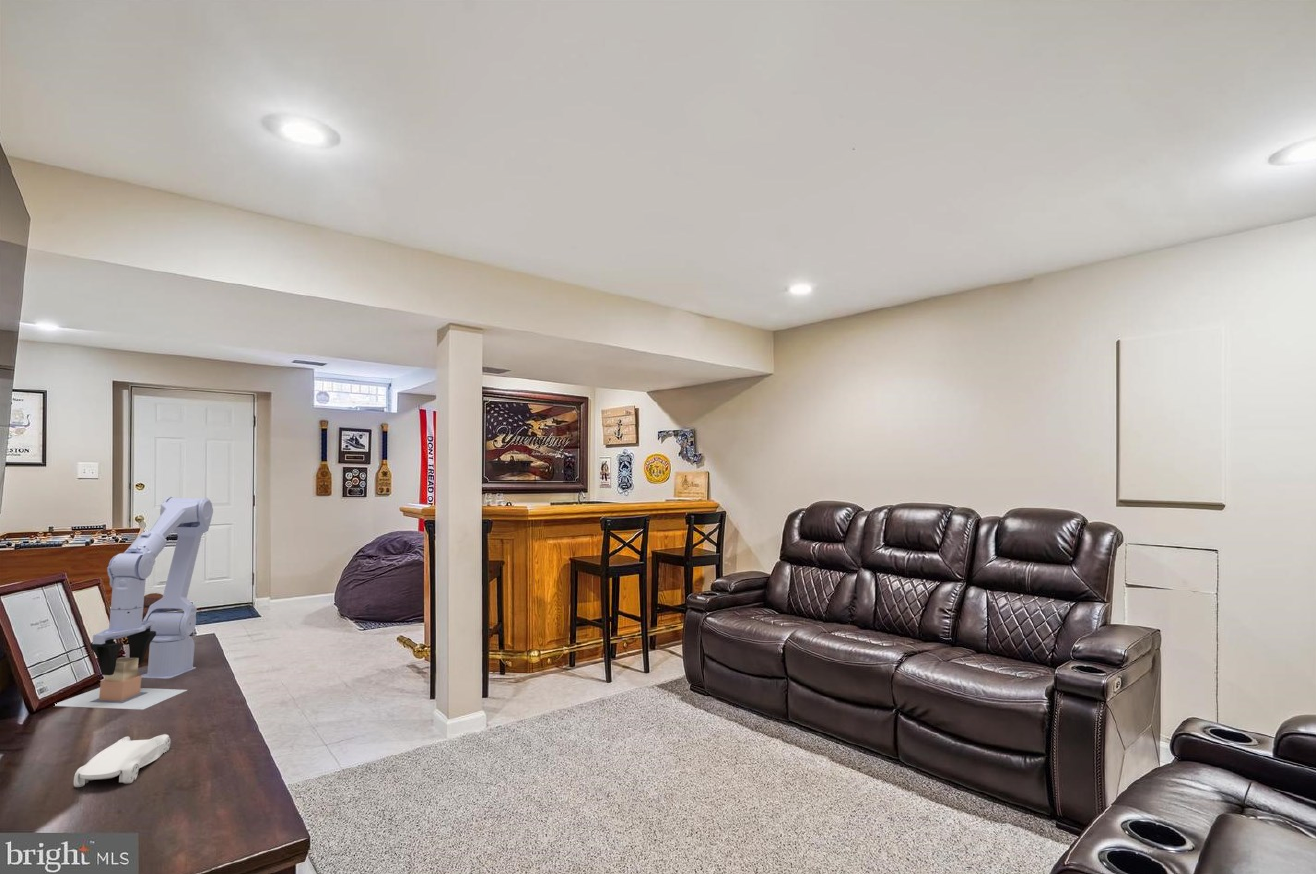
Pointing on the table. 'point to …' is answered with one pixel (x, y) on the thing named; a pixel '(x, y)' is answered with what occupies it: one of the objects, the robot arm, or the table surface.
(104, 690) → the terracotta block
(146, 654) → the wooden figurine
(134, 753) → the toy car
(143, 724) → the table surface
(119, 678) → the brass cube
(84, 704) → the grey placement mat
